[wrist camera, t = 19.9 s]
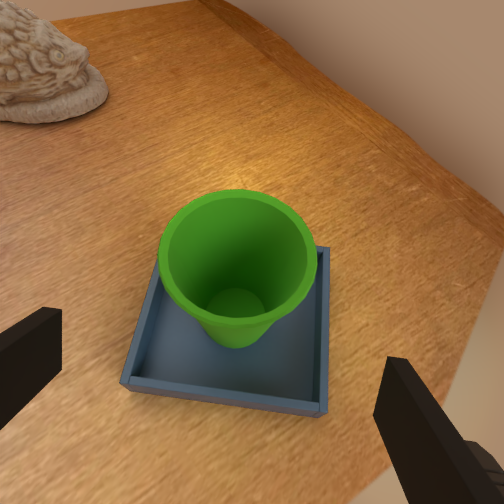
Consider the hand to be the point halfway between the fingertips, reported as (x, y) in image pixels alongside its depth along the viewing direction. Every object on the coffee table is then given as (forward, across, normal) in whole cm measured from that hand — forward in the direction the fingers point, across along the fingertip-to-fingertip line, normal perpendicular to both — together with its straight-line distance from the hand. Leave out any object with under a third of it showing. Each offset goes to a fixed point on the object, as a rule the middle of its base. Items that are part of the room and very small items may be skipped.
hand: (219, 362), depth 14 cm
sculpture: (+33, -28, +12) cm, 45 cm away
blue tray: (+15, 0, -5) cm, 16 cm away
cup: (+15, 0, -5) cm, 15 cm away
